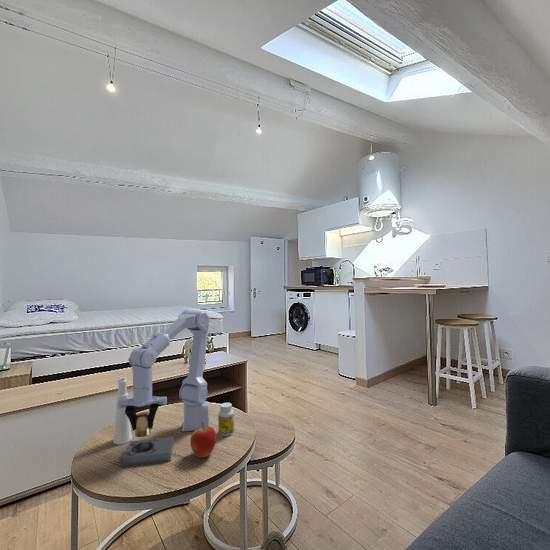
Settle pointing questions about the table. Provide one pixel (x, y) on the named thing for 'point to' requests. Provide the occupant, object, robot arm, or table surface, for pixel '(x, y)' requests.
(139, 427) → the bushing
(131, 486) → the table surface
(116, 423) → the cosmetic bottle
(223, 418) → the supplement bottle
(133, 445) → the plate
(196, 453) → the apple
